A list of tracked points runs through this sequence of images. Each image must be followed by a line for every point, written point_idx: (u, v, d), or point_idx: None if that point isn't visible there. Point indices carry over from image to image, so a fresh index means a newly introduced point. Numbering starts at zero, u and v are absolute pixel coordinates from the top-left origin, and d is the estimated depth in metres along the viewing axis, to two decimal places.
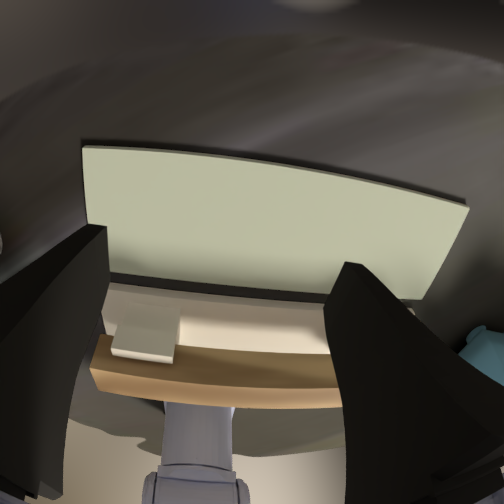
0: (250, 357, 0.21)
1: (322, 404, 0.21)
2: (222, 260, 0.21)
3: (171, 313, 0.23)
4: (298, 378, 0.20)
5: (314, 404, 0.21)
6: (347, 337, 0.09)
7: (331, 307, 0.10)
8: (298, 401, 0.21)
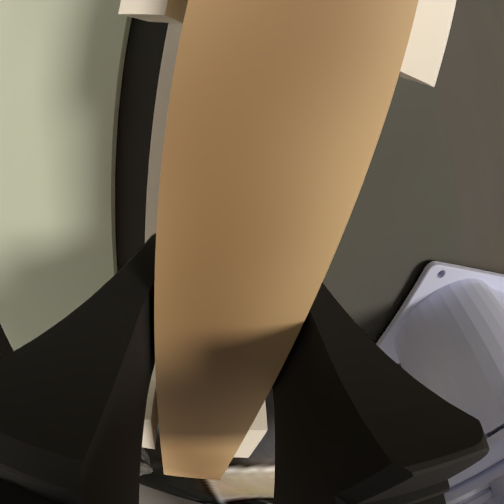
0: None
1: (323, 192, 0.05)
2: (73, 270, 0.13)
3: None
4: None
5: (308, 227, 0.05)
6: None
7: None
8: (260, 287, 0.06)
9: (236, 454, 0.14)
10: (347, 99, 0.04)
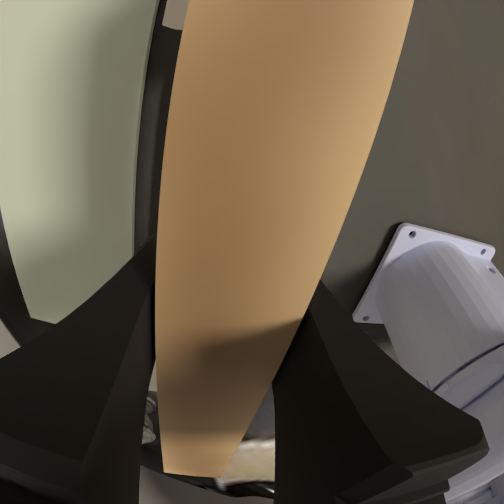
0: None
1: (321, 188, 0.05)
2: (96, 228, 0.16)
3: None
4: None
5: (307, 222, 0.05)
6: None
7: None
8: (259, 282, 0.06)
9: None
10: (344, 96, 0.04)
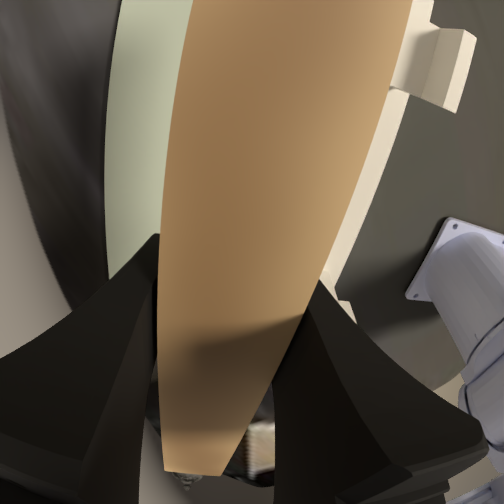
0: None
1: (321, 186, 0.05)
2: None
3: None
4: None
5: (307, 220, 0.05)
6: None
7: None
8: (260, 278, 0.06)
9: None
10: (343, 97, 0.04)
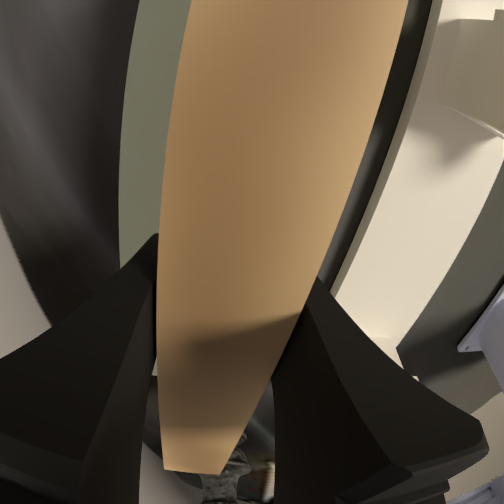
0: None
1: (318, 183, 0.05)
2: None
3: None
4: None
5: (305, 217, 0.05)
6: None
7: None
8: (258, 276, 0.06)
9: None
10: (340, 95, 0.04)
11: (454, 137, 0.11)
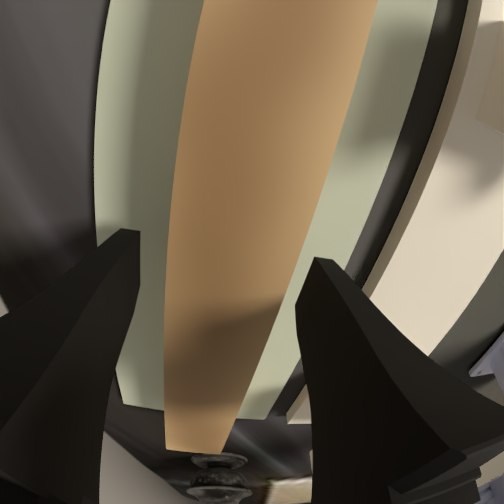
0: None
1: (303, 157, 0.06)
2: None
3: None
4: None
5: (293, 185, 0.06)
6: (315, 335, 0.09)
7: (302, 304, 0.10)
8: (255, 237, 0.07)
9: None
10: (320, 85, 0.05)
11: (490, 158, 0.09)
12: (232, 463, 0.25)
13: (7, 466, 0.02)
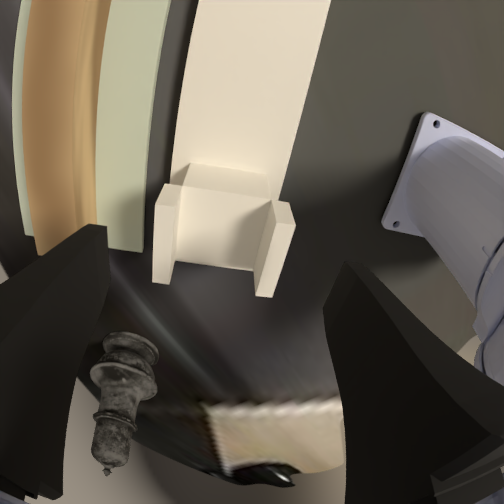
0: None
1: None
2: (113, 105, 0.14)
3: None
4: None
5: None
6: (347, 337, 0.09)
7: (331, 307, 0.10)
8: None
9: (259, 288, 0.15)
10: None
11: None
12: (141, 352, 0.26)
13: None
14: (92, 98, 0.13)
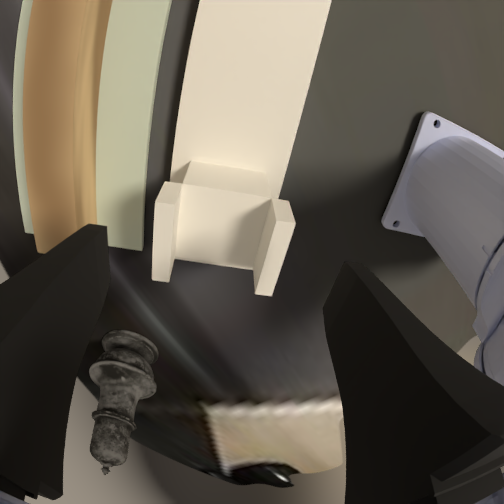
0: None
1: None
2: (113, 102, 0.14)
3: None
4: None
5: None
6: (347, 337, 0.09)
7: (331, 307, 0.10)
8: None
9: (259, 286, 0.15)
10: None
11: None
12: (141, 351, 0.26)
13: None
14: (93, 96, 0.13)
